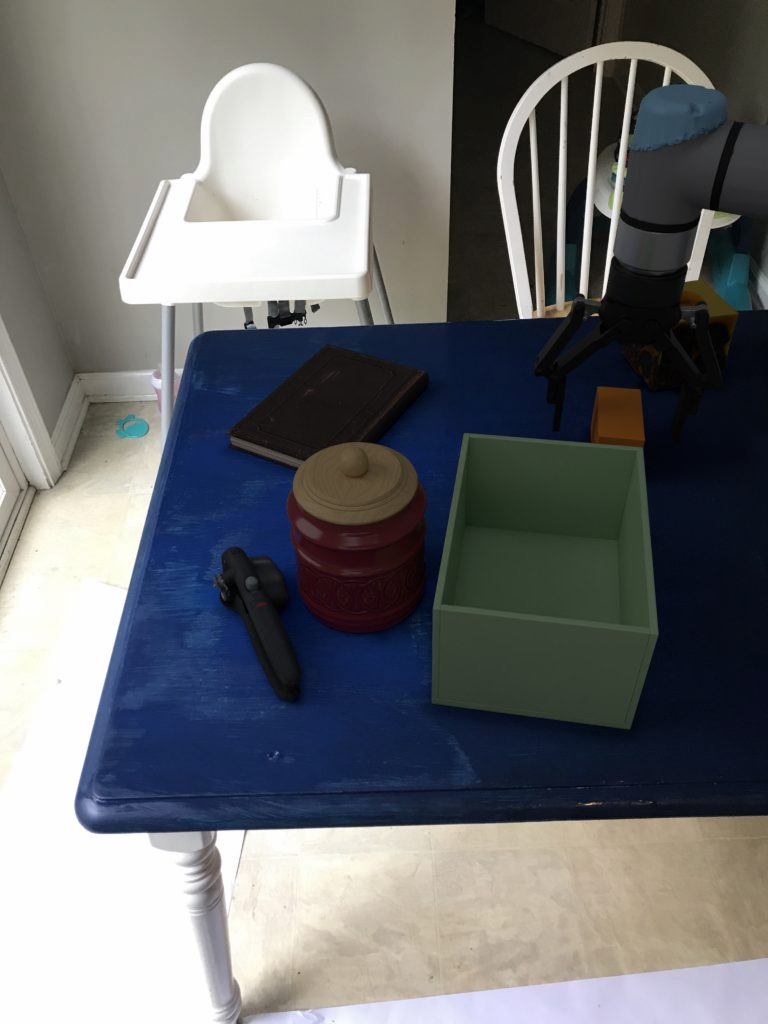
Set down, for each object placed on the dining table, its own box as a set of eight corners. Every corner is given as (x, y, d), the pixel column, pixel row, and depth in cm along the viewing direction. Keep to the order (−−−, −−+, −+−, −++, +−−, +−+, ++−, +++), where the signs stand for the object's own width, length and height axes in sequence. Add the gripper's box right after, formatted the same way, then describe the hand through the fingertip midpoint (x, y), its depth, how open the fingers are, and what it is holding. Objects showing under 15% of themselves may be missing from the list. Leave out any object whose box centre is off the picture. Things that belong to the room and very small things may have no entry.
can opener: (210, 583, 86) (200, 544, 82) (275, 564, 87) (268, 525, 83) (255, 720, 73) (246, 681, 69) (330, 694, 75) (325, 655, 71)
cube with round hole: (650, 393, 108) (665, 325, 102) (618, 353, 116) (630, 287, 109) (722, 382, 110) (742, 314, 103) (686, 343, 117) (702, 277, 110)
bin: (621, 542, 88) (643, 447, 79) (630, 729, 71) (658, 634, 63) (459, 526, 91) (463, 432, 82) (431, 703, 74) (432, 608, 65)
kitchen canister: (387, 656, 78) (381, 518, 66) (273, 607, 83) (249, 470, 71) (447, 567, 86) (452, 430, 74) (341, 528, 91) (329, 393, 79)
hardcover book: (228, 447, 103) (225, 432, 101) (328, 357, 117) (326, 343, 116) (338, 485, 96) (337, 470, 95) (429, 386, 111) (429, 371, 109)
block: (632, 429, 103) (640, 389, 99) (635, 481, 95) (645, 440, 91) (590, 426, 103) (597, 386, 99) (591, 477, 96) (598, 436, 92)
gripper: (775, 249, 84) (722, 420, 98) (526, 235, 87) (509, 402, 102) (788, 284, 78) (730, 459, 93) (522, 268, 82) (505, 439, 96)
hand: (614, 430), depth 97 cm, fingers open, 13 cm apart
